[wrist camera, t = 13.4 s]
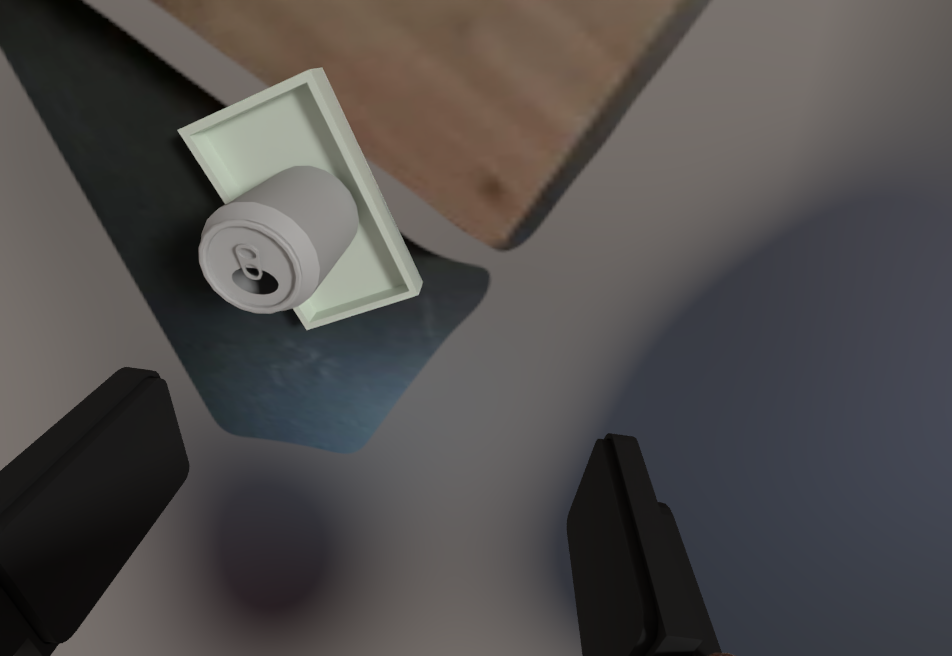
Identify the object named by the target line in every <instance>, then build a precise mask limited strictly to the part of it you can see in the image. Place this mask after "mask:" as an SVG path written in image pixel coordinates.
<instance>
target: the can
mask: <svg viewBox="0 0 952 656" xmlns="http://www.w3.org/2000/svg"><path fill="white" fill-rule="evenodd" d="M358 223H359V217H358V211H357V205H356V203H355V201H354V199H353V197H352V195H351V193H350V191H349V190H348V189H347V188H346V187H345V186H344V184H343V183H342V182H341V181H340V180H339V179H338V178H336V177H335V176H333V175H332V174H330V173H329V172H327V171H326V170H322V169H319V168H316V167H313V166H293V167H291V168H288V169H286V170H283V171H281V172H279V173H278V174H276V175H274V176H273V177H271V178H269V179H267V180H266V181H264V182H262V183H261V184H259V185H257V186H256V187H254V188H252V189H251V190H249V191H247V192H245V193H244V194H242V195H240V196H239V197H237V198H235V199H234V200H232V201H230V202H228V203H227V204H225V205H223V206H222V207H220V208H218V209H217V210H216V211H215V212H214V213H213V214H212V215H211V216H210V217H209V218H208V219H207V221H206V224H205V226H204V229H203V231H202V234H201V243H200V245H199V264H200V266H201V269H202V272H203V275H204V277H205V278H206V280H207V281H208V283H209V284H210V286H211V287H212V288H213V290H214V291H215V292H216V293H218V294H219V295H220V296H221V297H222V298H223V299H224V300H226V301H227V302H229V303H231V304H232V305H234V306H236V307H238V308H240V309H242V310H246V311H250V312H253V313H274V312H278V311H285V310H288V309H291V308H295V307H298V306H300V305H301V304H302V303H304V302H305V301H306V300H308V299H309V298H310V297H311V296H312V295H313V293H314V292H315V291H316V289H317V288H318V287H319V285H320V284H321V283H322V281H323V280H324V279H325V277H326V276H327V275H328V273H329V272H330V271H331V269H332V268H333V267H334V265H335V264H336V263H337V261H338V260H339V259H340V257H341V256H342V255H343V253H344V252H345V251H346V249H347V248H348V247H349V245H350V244H351V242H352V241H353V239H354V237H355V235H356V234H357V229H358Z"/></svg>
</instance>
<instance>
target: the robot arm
mask: <svg viewBox="0 0 952 656" xmlns="http://www.w3.org/2000/svg"><path fill="white" fill-rule="evenodd" d="M188 472H189V461H188V458H187V454H186V451H185V447H184V443H183V440H182V436H181V433H180V429H179V426H178V422H177V418H176V415H175V411H174V408H173V404H172V401H171V397H170V393H169V390H168V387H167V383H166V381H165V380H164V379H161V378H160V376H159V374H158V373H157V372H156V371H152V370H145V369H137V368H130V367H124V368H121V369H120V370H118V371H117V372H115V373H114V374H113V375H112V376H111V377H110V378H108V379H107V380H106V381H105V382H104V383H103V384H101V385H100V386H99V387H98V388H97V389H96V390H94V391H93V392H92V393H91V394H90V395H88V396H87V397H86V398H85V399H84V400H83V401H82V402H80V403H79V404H78V405H77V406H76V407H74V409H72V410H71V411H70V412H69V413H68V414H66V415H65V416H64V417H63V418H62V419H60V421H58V422H57V423H56V424H55V425H54V426H52V427H51V428H50V429H49V430H48V431H46V432H45V433H44V434H43V435H42V436H41V437H39V438H38V439H37V440H36V441H35V442H34V443H32V444H31V445H30V446H29V447H28V448H27V449H25V450H24V451H23V452H22V453H21V454H20V455H18V456H17V457H16V458H15V459H14V460H13V461H11V462H10V463H9V464H8V465H7V466H5V467H4V468H3V469H2V470H1V471H0V656H50V655H51V654H52V652H53V651H54V650H55V648H56V647H57V646H58V644H59V643H63V642H65V641H67V640H68V639H69V638H70V637H72V635H73V634H74V633H75V632H76V631H77V629H78V628H79V627H80V625H81V624H82V622H83V621H84V620H85V618H86V617H87V615H88V614H89V613H90V611H91V610H92V608H93V607H94V606H95V604H96V603H97V601H98V600H99V599H100V598H101V596H102V595H103V593H104V592H105V591H106V589H107V588H108V586H109V585H110V583H111V582H112V581H113V580H114V578H115V577H116V575H117V574H118V573H119V571H120V570H121V569H122V567H123V566H124V564H125V563H126V562H127V560H128V559H129V557H130V556H131V555H132V553H133V552H134V550H135V549H136V548H137V546H138V545H139V544H140V542H141V541H142V540H143V538H144V537H145V535H146V534H147V533H148V531H149V530H150V529H151V527H152V526H153V524H154V523H155V522H156V520H157V519H158V517H159V516H160V515H161V513H162V512H163V511H164V509H165V508H166V506H167V505H168V503H169V502H170V501H171V500H172V498H173V497H174V495H175V494H176V492H177V491H178V490H179V488H180V487H181V486H182V484H183V483H184V481H185V480H186V478H187V475H188ZM567 535H568V544H569V552H570V560H571V567H572V576H573V583H574V591H575V599H576V607H577V615H578V623H579V631H580V638H581V646H582V654H583V656H735V655H732V654H729V653H722V652H721V649H720V646H719V643H718V640H717V638H716V635H715V632H714V629H713V626H712V623H711V621H710V618H709V615H708V612H707V609H706V607H705V604H704V601H703V598H702V595H701V593H700V590H699V587H698V584H697V581H696V578H695V575H694V573H693V570H692V567H691V564H690V561H689V559H688V556H687V553H686V550H685V547H684V544H683V542H682V539H681V536H680V533H679V531H678V527H677V525H676V522H675V519H674V516H673V514H672V512H671V510H670V508H669V507H668V506H667V505H666V504H664V503H661V502H657V499H656V496H655V493H654V490H653V487H652V484H651V481H650V478H649V475H648V472H647V469H646V465H645V462H644V459H643V456H642V453H641V450H640V447H639V444H638V442H637V439H636V438H635V437H632V436H624V435H617V434H610V433H608V434H607V435H606V436H605V438H604V439H598V440H597V441H596V443H595V445H594V448H593V451H592V453H591V456H590V458H589V461H588V464H587V466H586V469H585V472H584V474H583V477H582V480H581V482H580V485H579V487H578V490H577V493H576V495H575V498H574V501H573V503H572V506H571V509H570V511H569V514H568V518H567Z"/></svg>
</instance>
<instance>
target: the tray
mask: <svg viewBox="0 0 952 656" xmlns="http://www.w3.org/2000/svg"><path fill="white" fill-rule="evenodd" d="M178 132H179V134H180V135H181V137H182V138H183V140H184V141H185V143H186V144H187V146H188V147H189V149H190V151H191V152H192V154H193V155H194V157H195V158H196V160H197V161H198V163H199V164H200V166H201V168H202V169H203V171H204V172H205V174H206V175H207V177H208V178H209V180H210V181H211V183H212V185H213V186H214V188H215V189H216V191H217V192H218V194H219V195H220V197H221V198H222V200H223V202H224V203H225V204H227V203H228V202H230V201H232V200H234V199H235V198H237V197H239V196H240V195H242V194H244V193H245V192H247V191H249V190H251V189H252V188H254V187H256V186H257V185H259V184H261V183H262V182H264V181H266V180H267V179H269V178H271V177H273V176H274V175H276V174H278V173H279V172H281V171H283V170H286V169H288V168H291V167H293V166H313V167H316V168H319V169H322V170H326V171H327V172H329V173H330V174H332V175H333V176H335V177H336V178H338V179H339V180H340V181H341V182H342V183H343V184H344V186H345V187H346V188H347V189H348V190H349V191H350V193H351V195H352V197H353V199H354V201H355V203H356V205H357V211H358V217H359V223H358V229H357V234H356V235H355V237H354V239H353V241H352V242H351V244H350V245H349V247H348V248H347V249H346V251H345V252H344V253H343V255H342V256H341V257H340V259H339V260H338V261H337V263H336V264H335V265H334V267H333V268H332V269H331V271H330V272H329V273H328V275H327V276H326V277H325V279H324V280H323V281H322V283H321V284H320V285H319V287H318V288H317V289H316V291H315V292H314V293H313V295H312V296H311V297H310V298H309V299H308V300H306V301H305V302H304V303H302V304H301V305H300V306H298V307H295V308H293V310H294V311H295V313H296V314H297V316H298V317H299V319H300V321H301V322H302V324H303V325H304V327H305V328H306V330H309V329H312V328H315V327H318V326H321V325H325V324H328V323H331V322H334V321H337V320H341V319H344V318H347V317H350V316H353V315H356V314H360V313H363V312H366V311H369V310H372V309H376V308H379V307H382V306H385V305H388V304H391V303H395V302H398V301H401V300H404V299H407V298H411V297H414V296H417V295H419V292H420V289H421V286H422V284H423V281H422V279H421V277H420V275H419V272H418V270H417V268H416V266H415V264H414V262H413V260H412V258H411V255H410V253H409V251H408V249H407V247H406V245H405V243H404V241H403V238H402V236H401V234H400V232H399V230H398V228H397V226H396V224H395V222H394V220H393V217H392V215H391V213H390V211H389V209H388V207H387V204H386V203H385V200H384V198H383V196H382V194H381V192H380V190H379V187H378V185H377V183H376V181H375V179H374V177H373V175H372V172H371V170H370V169H369V166H368V164H367V162H366V160H365V158H364V155H363V153H362V151H361V149H360V147H359V145H358V143H357V141H356V138H355V136H354V134H353V132H352V130H351V128H350V126H349V124H348V121H347V119H346V117H345V115H344V113H343V111H342V109H341V107H340V104H339V102H338V100H337V98H336V96H335V94H334V92H333V89H332V87H331V85H330V83H329V81H328V79H327V77H326V75H325V72H324V70H323V68H322V67H321V68H315V69H309V70H307V71H305V72H303V73H301V74H298V75H296V76H294V77H292V78H290V79H287V80H285V81H283V82H281V83H279V84H277V85H274V86H272V87H270V88H268V89H266V90H264V91H261V92H259V93H257V94H255V95H253V96H251V97H249V98H246V99H244V100H242V101H240V102H238V103H236V104H233V105H231V106H229V107H227V108H225V109H222V110H220V111H218V112H216V113H214V114H211V115H209V116H207V117H205V118H203V119H201V120H198V121H196V122H194V123H192V124H190V125H188V126H185V127H183V128H181V129H179V130H178Z"/></svg>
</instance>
